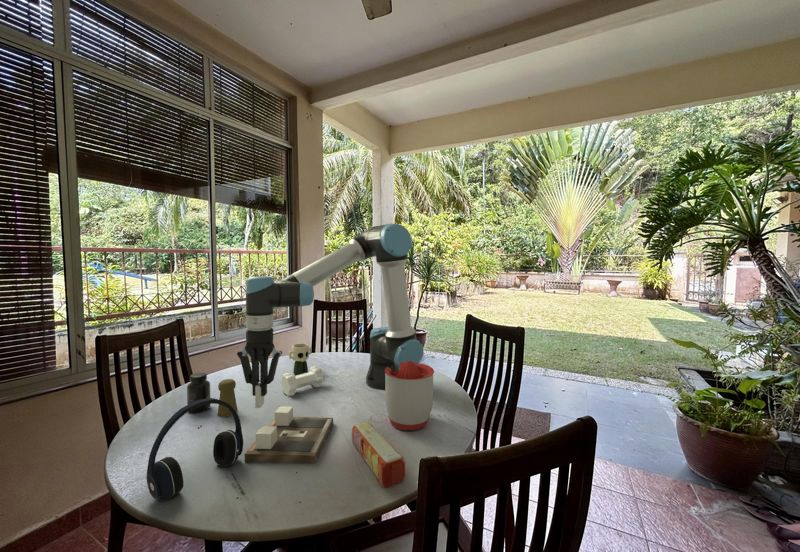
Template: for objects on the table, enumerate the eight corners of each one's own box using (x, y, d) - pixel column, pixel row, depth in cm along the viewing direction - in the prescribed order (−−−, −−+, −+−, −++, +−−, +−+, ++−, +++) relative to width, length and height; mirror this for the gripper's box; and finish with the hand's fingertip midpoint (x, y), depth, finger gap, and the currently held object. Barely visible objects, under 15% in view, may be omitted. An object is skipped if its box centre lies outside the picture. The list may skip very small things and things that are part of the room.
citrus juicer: (404, 405, 118) (405, 349, 117) (443, 422, 106) (444, 360, 105) (370, 419, 107) (370, 358, 106) (409, 441, 95) (410, 372, 94)
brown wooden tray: (333, 424, 104) (333, 417, 104) (314, 463, 84) (314, 454, 84) (276, 422, 105) (276, 415, 105) (244, 461, 85) (244, 452, 85)
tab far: (292, 419, 103) (292, 406, 102) (288, 425, 99) (288, 412, 99) (280, 419, 103) (280, 406, 103) (274, 425, 99) (274, 412, 99)
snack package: (349, 445, 93) (349, 421, 93) (371, 439, 96) (371, 416, 96) (381, 492, 74) (381, 463, 74) (407, 483, 77) (407, 455, 77)
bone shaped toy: (289, 400, 123) (290, 379, 122) (279, 391, 129) (279, 371, 128) (324, 389, 134) (325, 369, 133) (313, 381, 140) (314, 362, 139)
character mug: (293, 379, 143) (293, 349, 142) (285, 375, 148) (285, 346, 147) (315, 372, 151) (315, 344, 150) (307, 369, 156) (307, 341, 155)
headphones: (231, 452, 89) (230, 385, 88) (247, 461, 85) (246, 390, 84) (143, 498, 72) (140, 415, 71) (158, 511, 68) (155, 424, 67)
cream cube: (277, 440, 91) (276, 426, 91) (270, 449, 87) (270, 434, 87) (262, 440, 91) (262, 425, 91) (255, 448, 87) (255, 433, 87)
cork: (241, 410, 114) (241, 378, 113) (227, 418, 108) (226, 384, 107) (227, 407, 116) (227, 376, 115) (213, 415, 110) (212, 382, 109)
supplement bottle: (213, 409, 114) (212, 374, 114) (190, 415, 109) (189, 379, 109) (206, 402, 119) (206, 369, 118) (184, 409, 114) (183, 374, 113)
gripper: (231, 330, 96) (231, 410, 97) (276, 331, 96) (276, 412, 97) (244, 325, 103) (244, 400, 105) (286, 326, 103) (285, 401, 104)
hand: (259, 405), depth 101 cm, fingers closed
